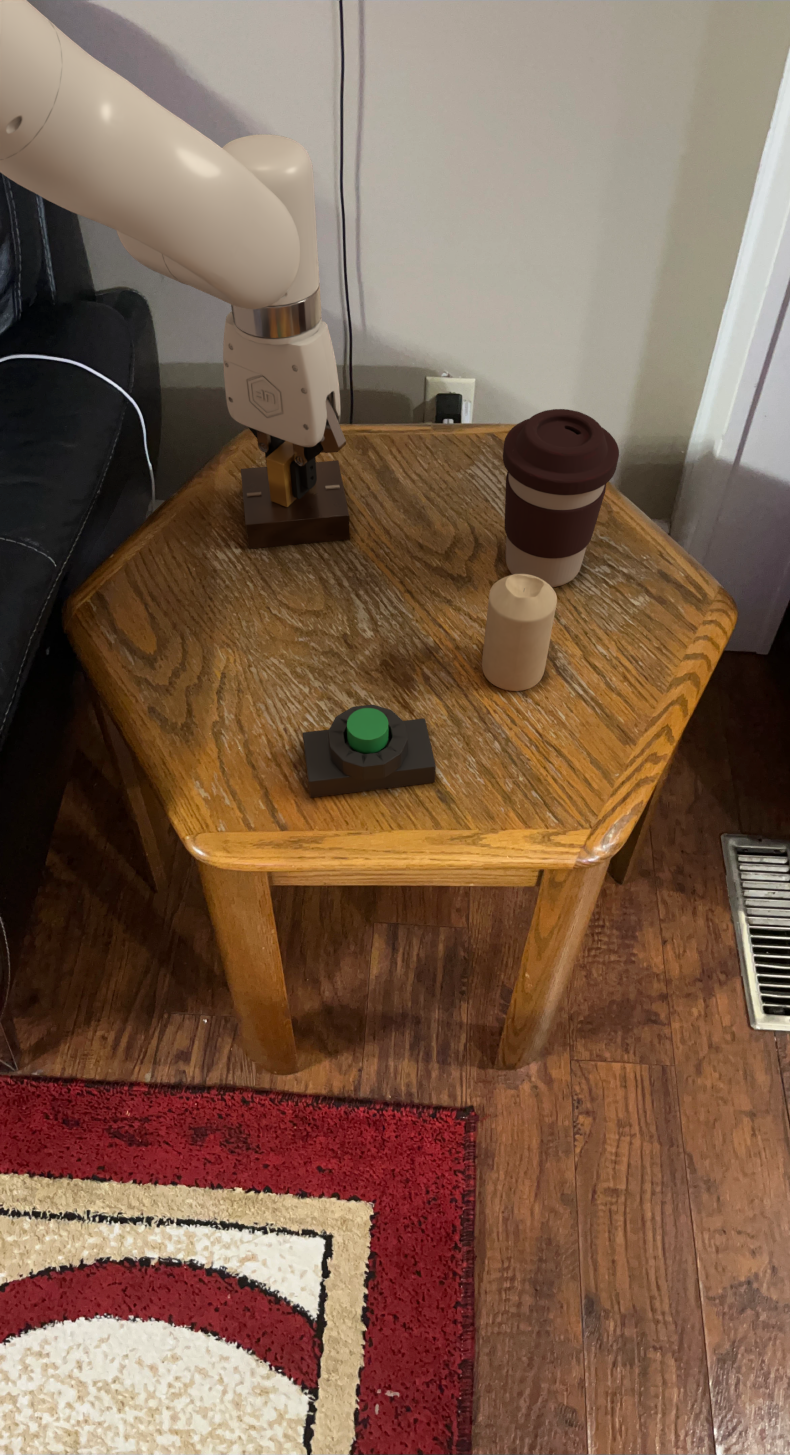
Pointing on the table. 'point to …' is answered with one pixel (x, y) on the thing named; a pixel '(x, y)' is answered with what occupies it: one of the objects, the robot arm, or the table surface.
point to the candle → (518, 631)
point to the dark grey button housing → (368, 757)
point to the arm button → (367, 730)
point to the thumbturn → (281, 474)
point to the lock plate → (295, 510)
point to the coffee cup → (554, 491)
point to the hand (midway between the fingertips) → (292, 484)
